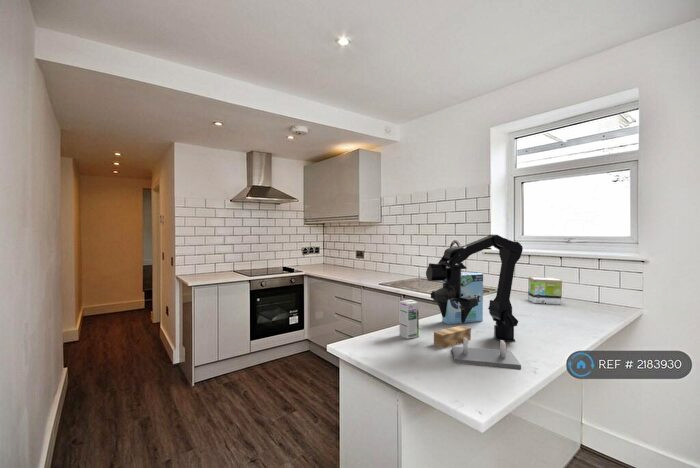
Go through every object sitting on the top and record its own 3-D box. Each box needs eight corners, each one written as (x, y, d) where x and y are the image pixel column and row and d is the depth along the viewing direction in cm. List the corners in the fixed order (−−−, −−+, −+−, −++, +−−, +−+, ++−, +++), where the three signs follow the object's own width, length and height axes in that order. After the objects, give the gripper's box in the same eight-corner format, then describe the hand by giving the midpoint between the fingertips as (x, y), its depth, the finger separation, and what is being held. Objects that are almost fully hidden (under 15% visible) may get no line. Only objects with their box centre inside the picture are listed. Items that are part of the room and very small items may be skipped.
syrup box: (407, 339, 128) (407, 303, 128) (398, 335, 133) (399, 300, 133) (418, 337, 131) (419, 301, 130) (409, 333, 136) (410, 299, 136)
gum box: (476, 318, 158) (477, 272, 158) (483, 321, 153) (484, 274, 153) (441, 321, 153) (442, 273, 152) (447, 324, 148) (448, 275, 148)
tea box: (534, 303, 190) (534, 279, 190) (527, 300, 200) (527, 276, 200) (561, 304, 188) (562, 279, 188) (553, 301, 198) (554, 277, 197)
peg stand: (510, 354, 113) (510, 336, 113) (520, 368, 102) (521, 349, 102) (451, 349, 118) (451, 332, 118) (455, 362, 106) (455, 344, 106)
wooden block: (461, 337, 132) (461, 325, 131) (470, 340, 128) (470, 328, 128) (433, 344, 123) (433, 331, 123) (443, 348, 119) (443, 335, 119)
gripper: (421, 278, 128) (420, 317, 129) (459, 286, 113) (459, 330, 113) (440, 276, 134) (440, 313, 135) (479, 283, 119) (478, 325, 119)
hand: (453, 320), depth 125 cm, fingers open, 9 cm apart
